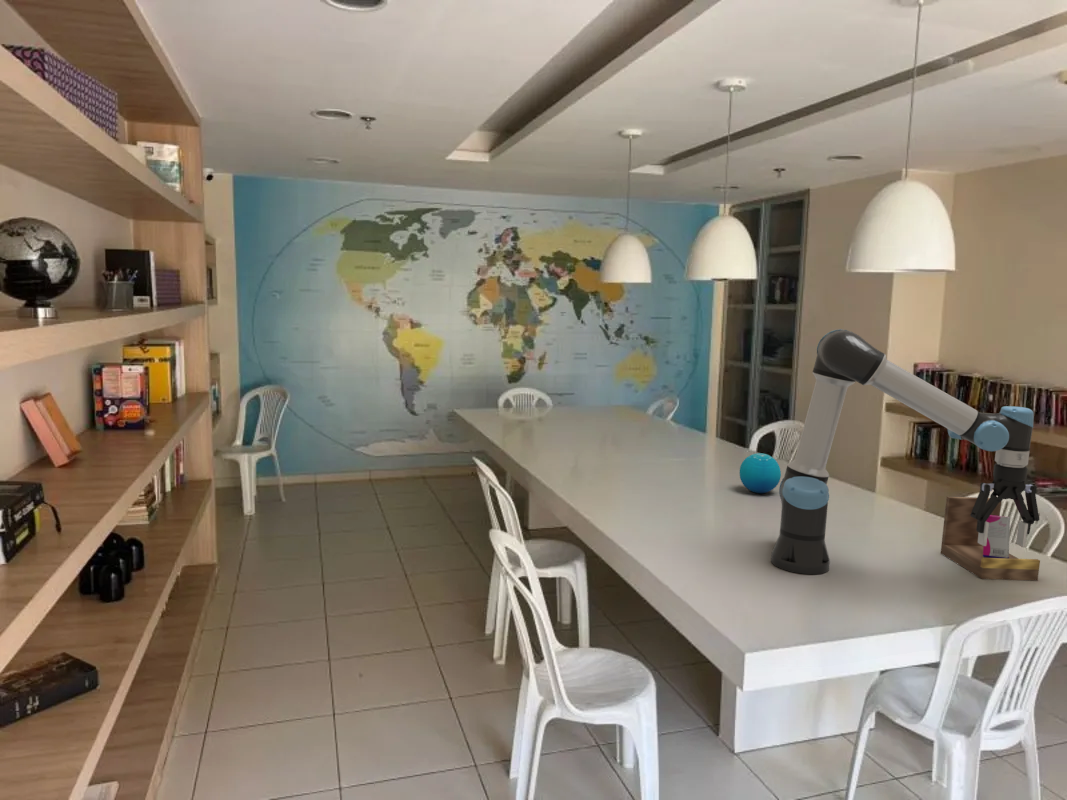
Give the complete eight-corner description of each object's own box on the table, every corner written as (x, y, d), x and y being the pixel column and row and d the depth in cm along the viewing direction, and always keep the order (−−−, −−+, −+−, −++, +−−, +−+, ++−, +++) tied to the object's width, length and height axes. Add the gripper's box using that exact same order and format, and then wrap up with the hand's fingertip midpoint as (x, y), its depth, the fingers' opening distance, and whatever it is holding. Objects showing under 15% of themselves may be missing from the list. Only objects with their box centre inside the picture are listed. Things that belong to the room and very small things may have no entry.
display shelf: (981, 578, 198) (988, 517, 195) (940, 553, 217) (946, 496, 215) (1037, 580, 198) (1045, 518, 195) (991, 554, 217) (998, 498, 215)
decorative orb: (774, 488, 287) (777, 450, 285) (783, 498, 272) (786, 458, 270) (734, 486, 289) (737, 448, 287) (741, 496, 274) (744, 456, 272)
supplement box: (1009, 558, 204) (1010, 516, 205) (1007, 560, 199) (1008, 517, 200) (984, 555, 208) (986, 514, 208) (982, 556, 203) (983, 514, 204)
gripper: (977, 466, 195) (968, 548, 198) (1062, 469, 195) (1052, 550, 198) (961, 460, 202) (952, 539, 205) (1043, 462, 202) (1033, 541, 205)
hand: (1001, 544), depth 201 cm, fingers open, 10 cm apart
